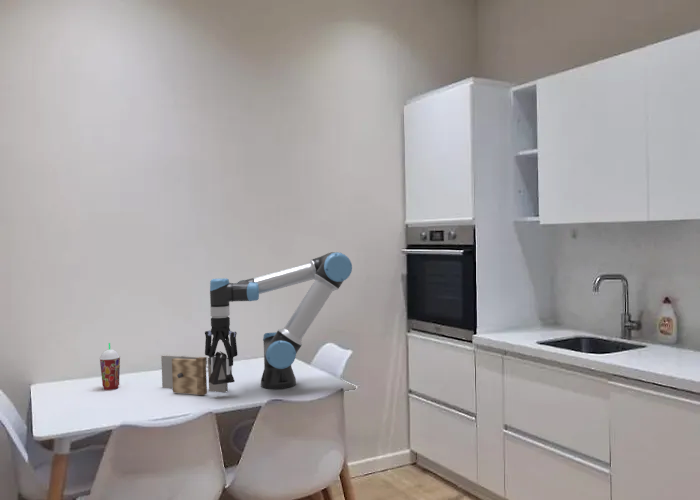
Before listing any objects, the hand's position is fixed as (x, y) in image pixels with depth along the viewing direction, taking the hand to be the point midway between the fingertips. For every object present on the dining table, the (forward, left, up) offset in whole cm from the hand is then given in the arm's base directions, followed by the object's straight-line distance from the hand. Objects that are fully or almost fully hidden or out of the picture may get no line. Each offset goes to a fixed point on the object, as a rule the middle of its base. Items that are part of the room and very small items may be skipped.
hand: (221, 373), depth 253 cm
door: (+16, 0, -9) cm, 18 cm away
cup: (+33, -44, -10) cm, 56 cm away
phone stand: (0, 0, -4) cm, 4 cm away
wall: (+19, -8, -10) cm, 23 cm away
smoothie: (+57, 0, -10) cm, 58 cm away
